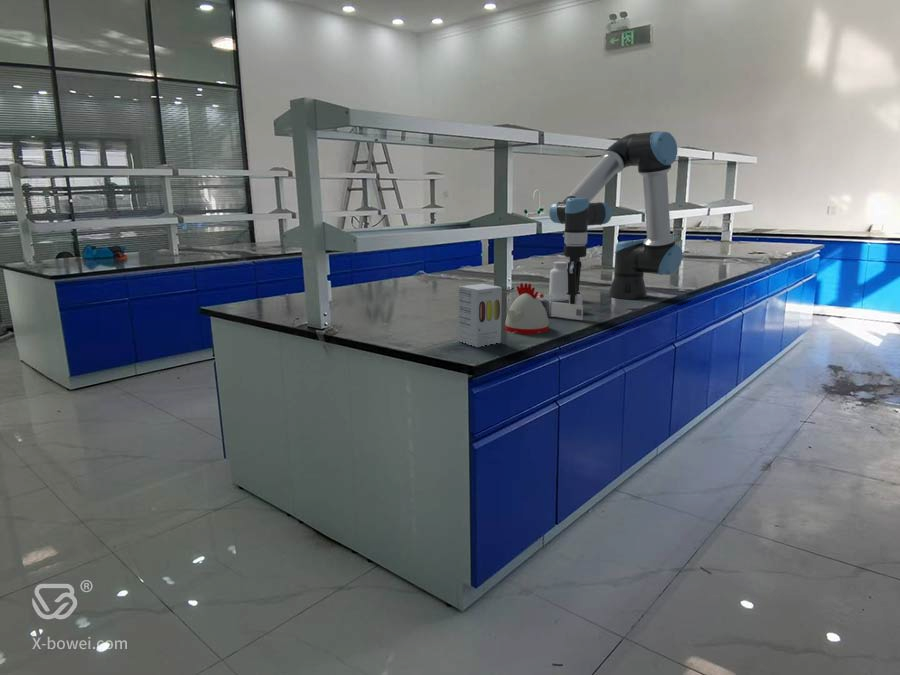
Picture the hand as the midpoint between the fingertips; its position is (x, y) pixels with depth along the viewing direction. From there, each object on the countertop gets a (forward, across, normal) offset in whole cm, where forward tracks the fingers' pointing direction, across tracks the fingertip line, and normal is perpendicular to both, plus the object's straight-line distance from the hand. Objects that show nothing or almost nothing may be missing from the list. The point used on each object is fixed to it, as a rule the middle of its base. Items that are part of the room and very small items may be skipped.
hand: (572, 313), depth 210 cm
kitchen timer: (+2, +21, -11) cm, 24 cm away
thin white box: (+2, +2, -2) cm, 3 cm away
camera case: (+2, -8, -9) cm, 12 cm away
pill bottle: (+3, -36, -13) cm, 39 cm away
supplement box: (+2, +42, -19) cm, 47 cm away
